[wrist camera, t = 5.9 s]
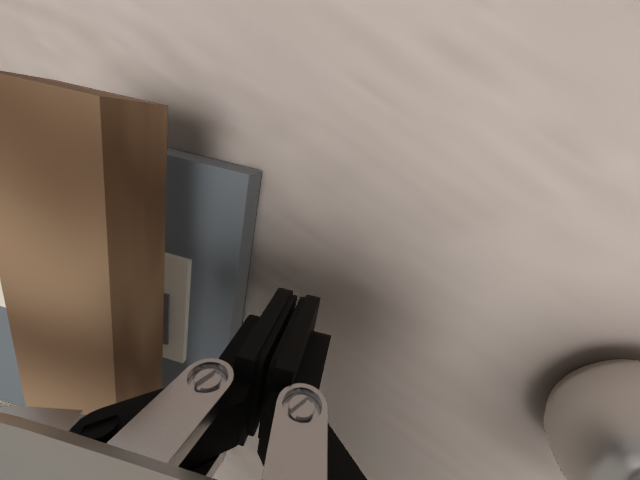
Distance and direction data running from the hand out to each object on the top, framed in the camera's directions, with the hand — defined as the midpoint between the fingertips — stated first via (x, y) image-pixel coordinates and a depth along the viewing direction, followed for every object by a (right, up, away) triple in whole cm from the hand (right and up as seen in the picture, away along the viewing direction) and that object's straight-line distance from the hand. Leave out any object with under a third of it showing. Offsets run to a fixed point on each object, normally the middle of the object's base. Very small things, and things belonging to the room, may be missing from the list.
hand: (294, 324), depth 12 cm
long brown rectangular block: (-8, -2, +2) cm, 8 cm away
